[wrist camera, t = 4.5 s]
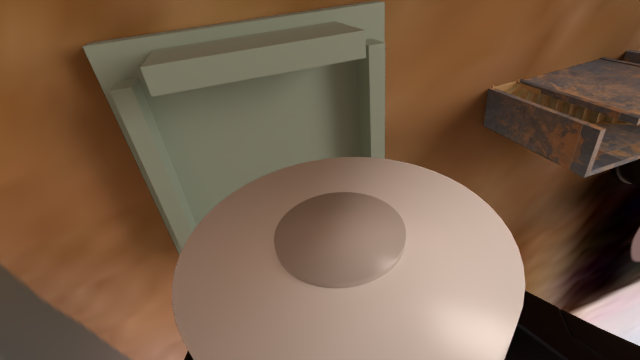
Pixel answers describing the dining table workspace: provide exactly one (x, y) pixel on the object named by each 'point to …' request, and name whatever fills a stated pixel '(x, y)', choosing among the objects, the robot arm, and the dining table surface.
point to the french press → (628, 172)
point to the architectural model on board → (574, 114)
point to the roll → (349, 268)
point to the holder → (244, 101)
